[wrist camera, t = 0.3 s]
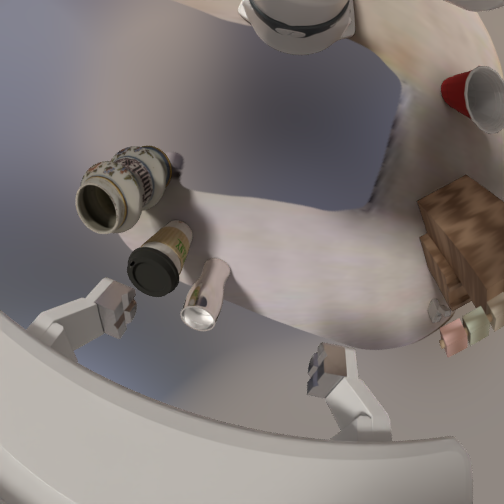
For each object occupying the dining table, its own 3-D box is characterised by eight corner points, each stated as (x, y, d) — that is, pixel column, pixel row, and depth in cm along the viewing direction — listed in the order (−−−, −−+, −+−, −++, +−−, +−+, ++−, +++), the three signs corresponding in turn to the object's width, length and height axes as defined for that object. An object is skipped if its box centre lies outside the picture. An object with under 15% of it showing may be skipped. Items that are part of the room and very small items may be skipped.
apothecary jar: (133, 202, 53) (83, 247, 38) (117, 148, 46) (56, 180, 32) (184, 193, 50) (140, 241, 35) (168, 133, 44) (112, 159, 29)
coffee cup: (183, 260, 59) (157, 307, 47) (150, 231, 56) (115, 273, 44) (210, 235, 55) (186, 282, 42) (174, 203, 52) (139, 242, 39)
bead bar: (438, 341, 28) (444, 359, 25) (436, 329, 27) (443, 348, 24) (542, 276, 20) (552, 289, 17) (544, 261, 19) (555, 274, 16)
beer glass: (211, 250, 57) (189, 299, 44) (238, 268, 58) (223, 319, 46) (196, 270, 60) (173, 318, 48) (221, 286, 62) (205, 336, 49)
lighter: (432, 310, 58) (441, 332, 51) (427, 310, 58) (436, 333, 52) (440, 289, 54) (452, 312, 48) (435, 290, 54) (446, 312, 48)
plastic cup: (442, 128, 36) (478, 143, 26) (420, 73, 31) (455, 72, 21) (480, 114, 31) (518, 126, 22) (461, 61, 27) (499, 61, 17)
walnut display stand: (428, 267, 52) (472, 360, 30) (408, 205, 45) (474, 296, 23) (481, 238, 45) (539, 316, 23) (469, 172, 38) (553, 241, 17)
